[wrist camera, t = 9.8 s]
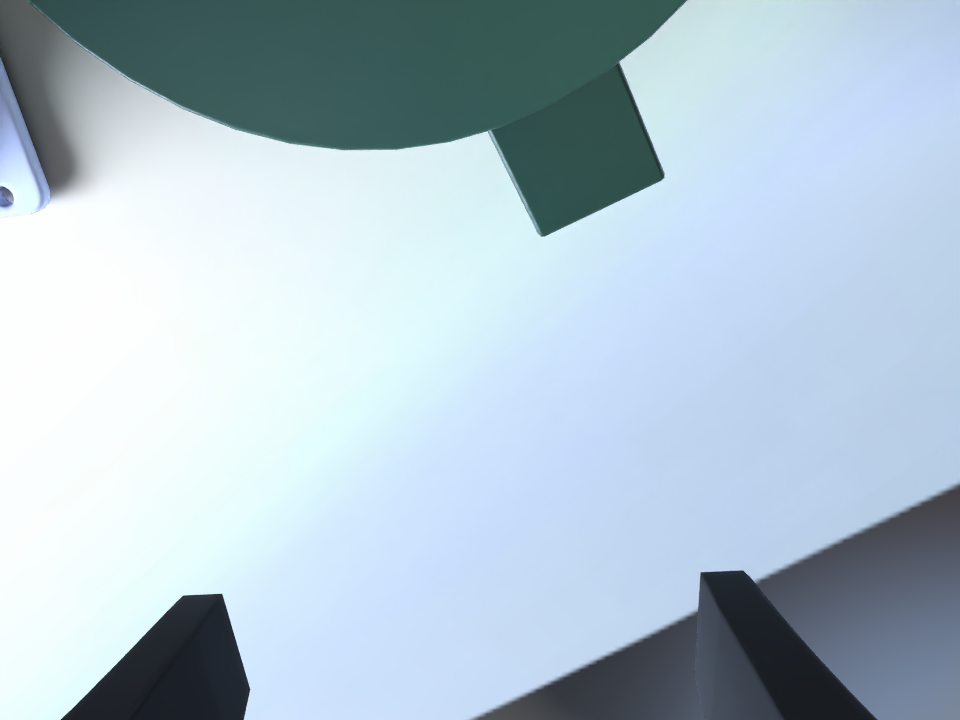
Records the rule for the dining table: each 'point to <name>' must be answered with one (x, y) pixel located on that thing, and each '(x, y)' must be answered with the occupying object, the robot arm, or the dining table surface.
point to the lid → (360, 60)
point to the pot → (579, 153)
